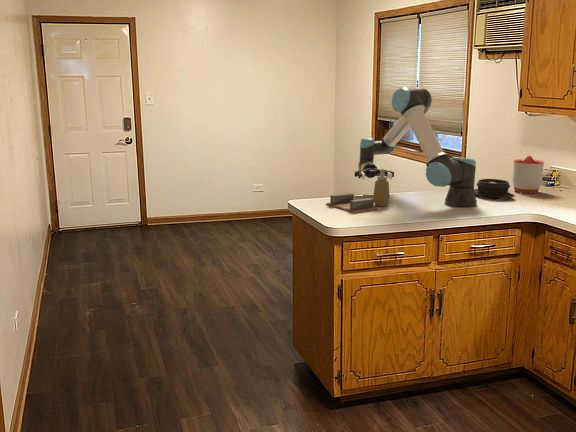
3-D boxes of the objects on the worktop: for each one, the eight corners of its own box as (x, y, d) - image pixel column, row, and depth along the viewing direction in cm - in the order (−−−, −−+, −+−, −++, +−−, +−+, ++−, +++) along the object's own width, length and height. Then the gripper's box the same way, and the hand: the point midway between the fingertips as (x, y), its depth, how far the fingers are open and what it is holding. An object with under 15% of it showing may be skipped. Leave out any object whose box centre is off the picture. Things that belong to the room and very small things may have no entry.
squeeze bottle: (371, 204, 309) (372, 167, 305) (387, 203, 310) (388, 167, 306) (374, 207, 301) (376, 170, 297) (391, 207, 302) (392, 170, 298)
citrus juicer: (538, 189, 352) (542, 153, 348) (543, 195, 336) (547, 157, 331) (509, 188, 355) (512, 152, 351) (512, 193, 339) (515, 156, 335)
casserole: (523, 199, 323) (525, 183, 321) (495, 202, 316) (497, 186, 314) (488, 191, 345) (490, 176, 343) (462, 193, 338) (463, 178, 336)
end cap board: (378, 210, 295) (378, 199, 294) (355, 213, 288) (355, 202, 287) (348, 201, 313) (348, 192, 312) (326, 204, 306) (326, 194, 305)
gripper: (392, 177, 335) (401, 184, 314) (345, 176, 333) (352, 184, 312) (393, 163, 333) (402, 169, 312) (346, 162, 331) (352, 169, 311)
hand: (377, 176), depth 312 cm, fingers open, 13 cm apart
